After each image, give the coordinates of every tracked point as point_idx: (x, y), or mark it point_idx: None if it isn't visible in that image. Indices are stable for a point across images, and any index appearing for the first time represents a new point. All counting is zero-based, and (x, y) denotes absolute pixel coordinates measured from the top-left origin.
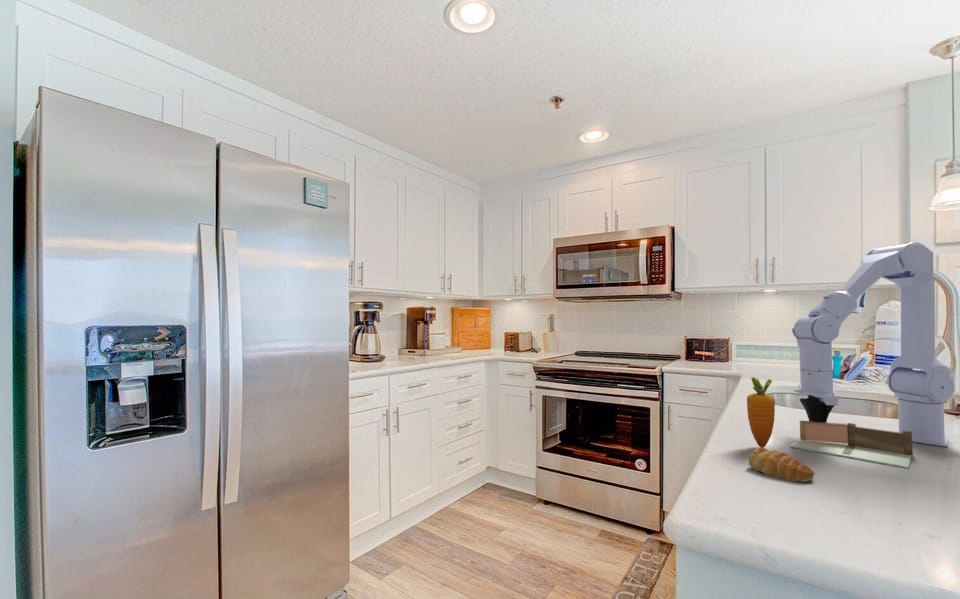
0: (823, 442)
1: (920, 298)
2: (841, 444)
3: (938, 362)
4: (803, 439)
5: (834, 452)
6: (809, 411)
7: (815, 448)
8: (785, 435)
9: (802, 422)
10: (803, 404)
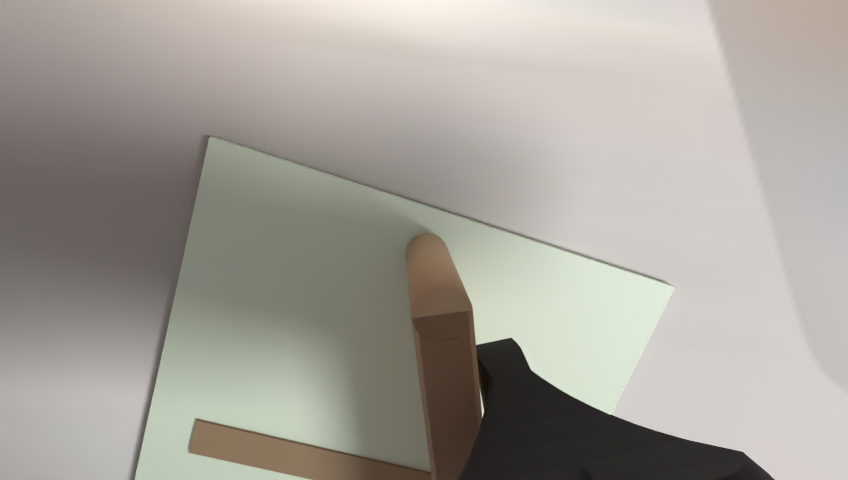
0: None
1: None
2: None
3: None
4: (405, 252)
5: (192, 383)
6: (471, 450)
7: (230, 293)
8: (595, 152)
9: (412, 302)
10: (631, 456)
